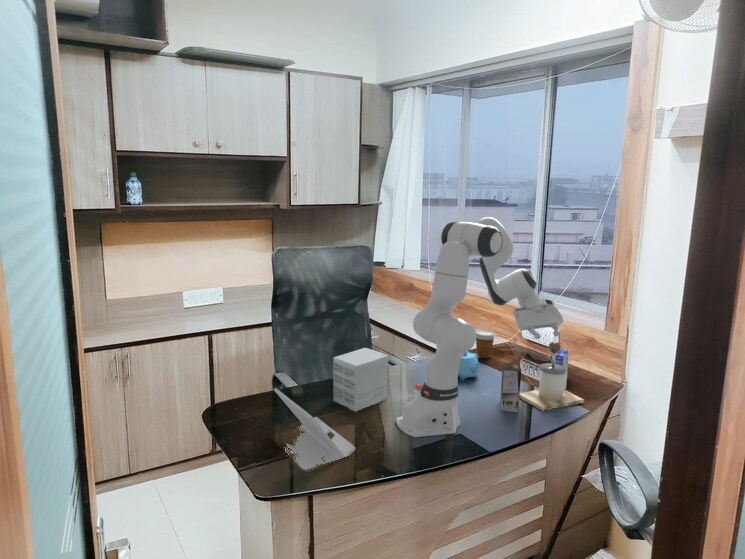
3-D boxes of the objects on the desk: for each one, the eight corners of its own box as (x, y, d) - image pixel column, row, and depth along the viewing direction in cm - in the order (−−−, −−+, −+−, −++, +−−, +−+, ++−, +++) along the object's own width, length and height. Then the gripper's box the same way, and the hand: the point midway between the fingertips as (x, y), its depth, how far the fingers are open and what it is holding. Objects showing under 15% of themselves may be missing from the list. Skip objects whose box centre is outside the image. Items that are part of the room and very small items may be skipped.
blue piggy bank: (442, 379, 221) (443, 353, 219) (449, 368, 234) (450, 344, 232) (478, 384, 216) (480, 358, 214) (483, 373, 229) (484, 348, 227)
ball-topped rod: (552, 369, 196) (554, 344, 194) (544, 366, 200) (546, 340, 198) (561, 368, 198) (563, 342, 196) (553, 364, 202) (555, 339, 200)
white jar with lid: (549, 403, 195) (552, 373, 193) (532, 393, 204) (534, 365, 202) (572, 398, 200) (575, 369, 197) (554, 389, 208) (557, 361, 206)
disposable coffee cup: (473, 359, 247) (475, 335, 245) (473, 352, 256) (474, 329, 254) (494, 360, 245) (495, 336, 243) (493, 354, 255) (494, 330, 252)
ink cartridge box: (554, 374, 229) (557, 342, 226) (567, 376, 226) (570, 345, 223) (548, 381, 221) (551, 348, 218) (562, 384, 218) (564, 351, 215)
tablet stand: (304, 473, 149) (303, 418, 146) (268, 437, 169) (267, 388, 166) (356, 455, 159) (356, 403, 156) (316, 423, 179) (316, 377, 176)
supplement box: (364, 389, 209) (365, 346, 206) (388, 399, 200) (389, 355, 196) (332, 401, 197) (332, 356, 194) (355, 413, 188) (356, 365, 184)
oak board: (542, 411, 191) (542, 407, 191) (517, 397, 204) (518, 393, 204) (583, 403, 199) (583, 399, 199) (557, 389, 212) (557, 386, 212)
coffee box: (518, 412, 190) (521, 371, 187) (500, 411, 191) (503, 369, 188) (517, 402, 199) (520, 362, 196) (499, 401, 200) (502, 361, 197)
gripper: (515, 304, 201) (530, 335, 194) (556, 300, 209) (572, 330, 202) (507, 312, 206) (522, 343, 199) (547, 308, 214) (563, 337, 207)
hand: (547, 336), depth 201 cm, fingers open, 8 cm apart
